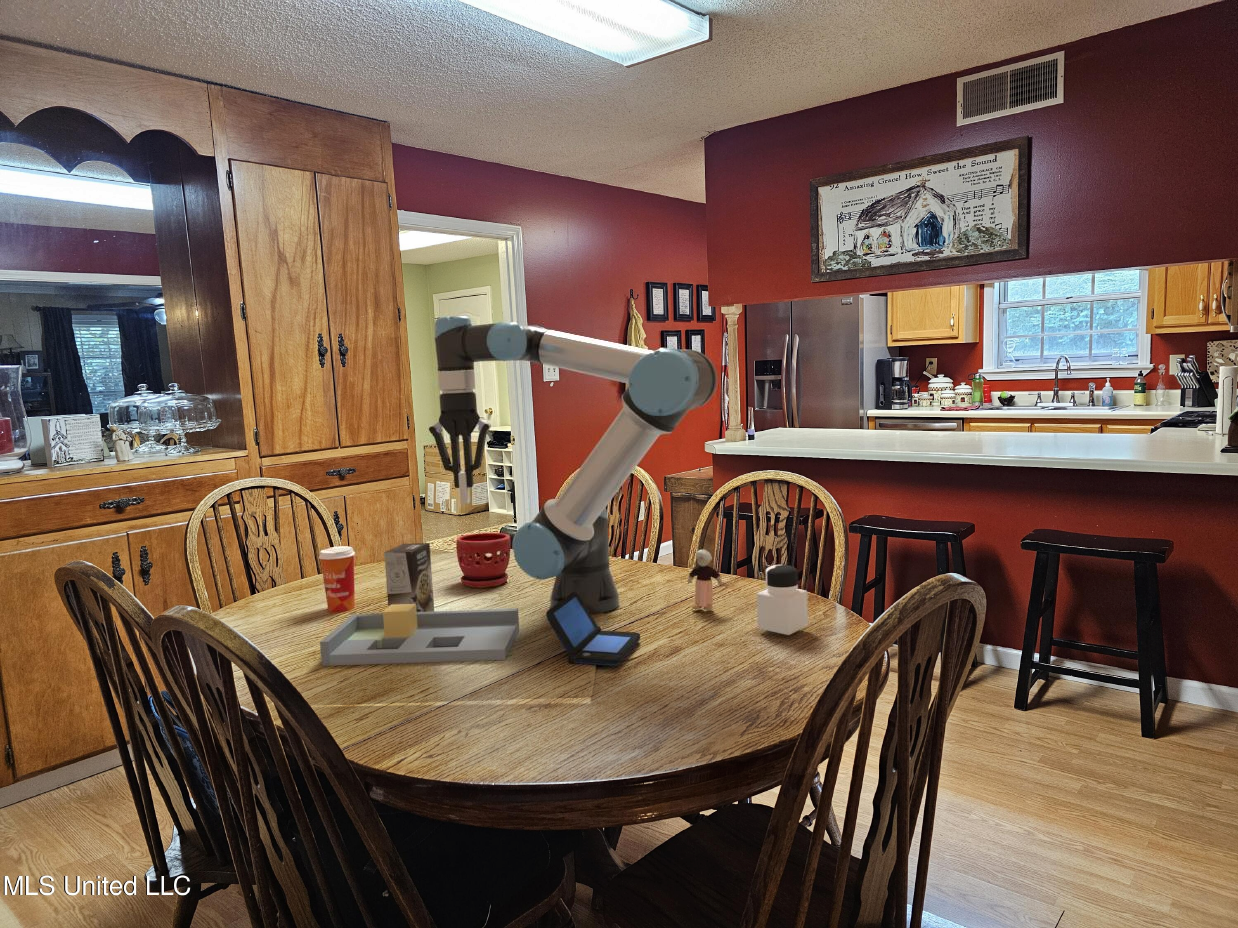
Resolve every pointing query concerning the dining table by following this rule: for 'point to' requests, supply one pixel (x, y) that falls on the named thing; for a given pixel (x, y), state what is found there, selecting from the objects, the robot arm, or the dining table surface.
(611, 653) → the handheld game console
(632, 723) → the dining table surface
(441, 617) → the trap deck
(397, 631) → the block
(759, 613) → the medicine bottle
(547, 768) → the dining table surface
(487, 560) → the plant pot
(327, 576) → the paper cup
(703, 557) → the grandmother figurine
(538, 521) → the robot arm
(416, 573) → the coffee box
